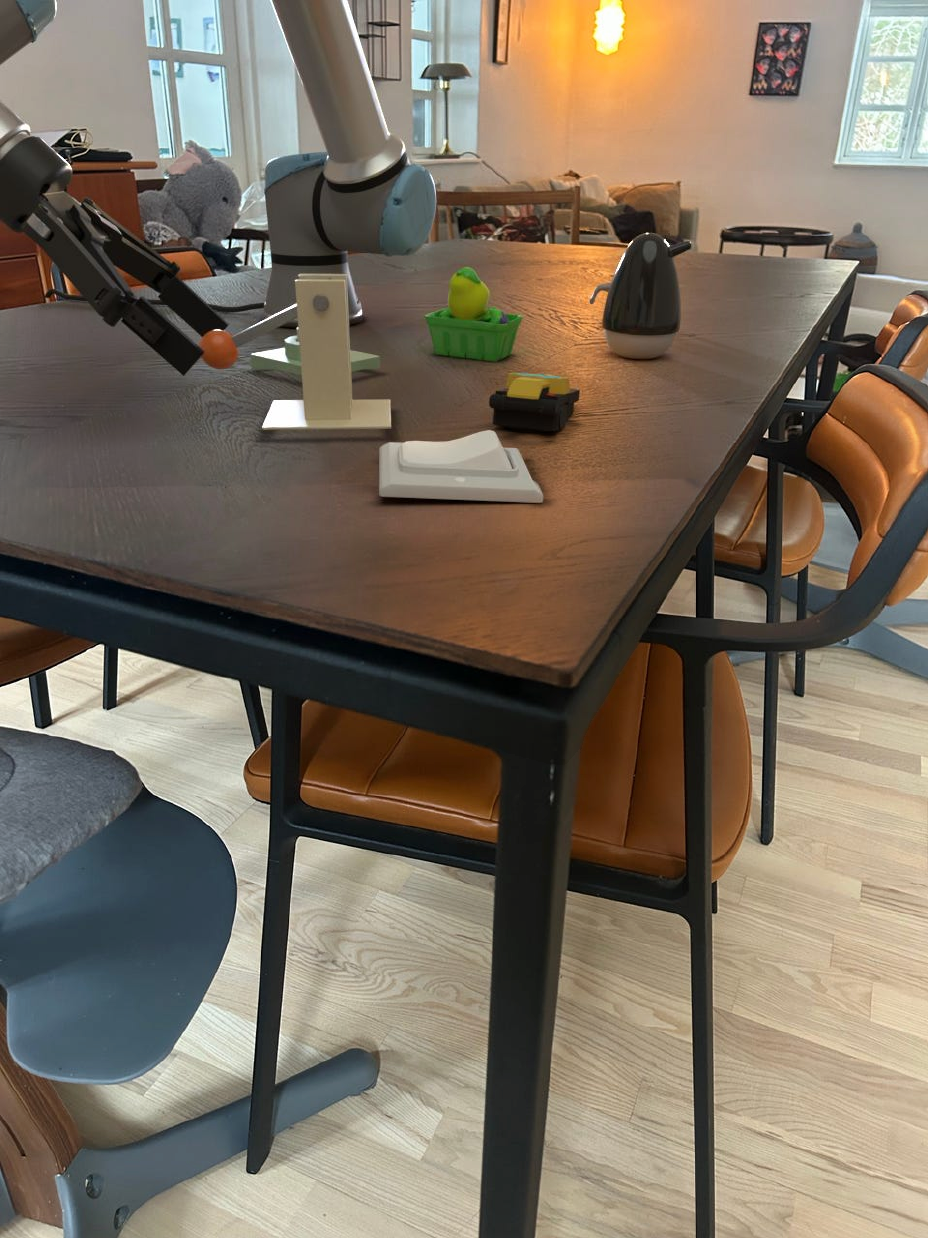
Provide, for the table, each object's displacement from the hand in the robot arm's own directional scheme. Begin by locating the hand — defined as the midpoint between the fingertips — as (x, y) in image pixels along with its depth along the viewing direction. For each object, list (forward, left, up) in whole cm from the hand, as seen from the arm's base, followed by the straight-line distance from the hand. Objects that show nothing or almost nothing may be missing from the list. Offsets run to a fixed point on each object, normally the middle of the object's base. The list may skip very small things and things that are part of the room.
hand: (208, 348), depth 83 cm
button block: (-10, +22, -7) cm, 25 cm away
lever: (+5, +5, 0) cm, 7 cm away
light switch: (+28, +4, -8) cm, 29 cm away
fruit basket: (-3, +43, -8) cm, 44 cm away
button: (-10, +22, -4) cm, 24 cm away
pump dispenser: (+13, +59, -8) cm, 61 cm away
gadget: (+24, +21, -8) cm, 32 cm away
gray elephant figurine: (+1, +76, -8) cm, 76 cm away
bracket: (+8, +8, -7) cm, 13 cm away
